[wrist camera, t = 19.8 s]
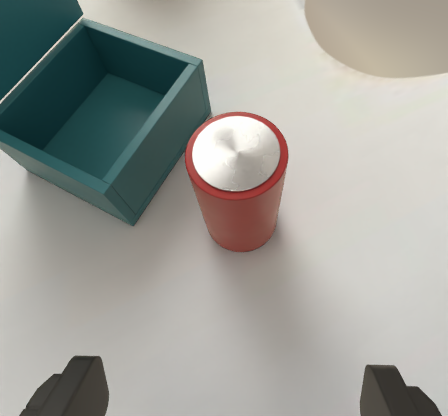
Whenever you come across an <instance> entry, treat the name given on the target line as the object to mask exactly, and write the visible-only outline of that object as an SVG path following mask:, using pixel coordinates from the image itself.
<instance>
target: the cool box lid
mask: <svg viewBox="0 0 448 416" xmlns="http://www.w3.org/2000/svg"><path fill="white" fill-rule="evenodd" d="M82 15H83V12H82V10H81V8H80V6H79V4H78V1H77V0H0V100H1V99H2V98H3V97H4V96H5V95H6V94H7V93H8V92H9V91H10V90H11V89H12V88H13V87H14V86H15V85H16V84H17V83H18V82H19V81H20V80H21V78H22V77H23V76H24V75H25V74H26V73H27V72H28V71H29V70H30V69H31V68H32V67H33V66H34V65H35V64H36V63H37V62H38V61H39V60H40V59H41V58H42V57H43V56H44V55H45V53H46V52H47V51H48V50H49V49H50V48H51V47H52V46H53V45H54V44H55V43H56V42H57V41H58V40H59V39H60V38H61V37H62V36H63V35H64V34H65V33H66V32H67V31H68V30H69V29H70V27H71V26H72V25H73V24H74V23H75V22H76V21H77V20H78V19H79V18H80V17H81V16H82Z"/></svg>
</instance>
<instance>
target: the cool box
mask: <svg viewBox="0 0 448 416" xmlns="http://www.w3.org/2000/svg"><path fill="white" fill-rule="evenodd" d="M210 112H211V107H210V102H209V96H208V90H207V84H206V78H205V72H204V66H203V60H202V59H199V58H196V57H193V56H190V55H188V54H185V53H182V52H179V51H176V50H173V49H171V48H168V47H165V46H162V45H159V44H156V43H153V42H151V41H148V40H145V39H142V38H139V37H136V36H134V35H131V34H128V33H125V32H122V31H119V30H117V29H114V28H111V27H108V26H105V25H102V24H100V23H97V22H94V21H91V20H88V19H85V18H82V19H81V20H80V21H79V22H78V24H76V25H75V26H74V27H73V28H72V29H71V30H70V31H69V33H68V34H67V35H66V36H65V37H64V38H63V39H62V40H61V41H60V42H59V43H58V44H57V45H56V46H55V47H54V48H53V49H52V50H51V51H50V52H49V53H48V54H47V56H46V57H45V58H44V59H43V60H42V61H41V62H40V63H39V64H38V65H37V66H36V67H35V68H34V69H33V70H32V71H31V72H30V73H29V74H28V75H27V76H26V77H25V79H24V80H23V81H22V82H21V83H20V84H19V85H18V86H17V87H16V88H15V89H14V90H13V91H12V92H11V93H10V94H9V95H8V96H7V97H6V98H5V99H4V100H3V102H2V103H1V104H0V149H2V150H3V151H4V152H5V153H6V154H8V155H9V156H10V157H11V158H13V159H14V160H15V161H16V162H18V163H19V164H20V165H21V166H23V167H24V168H25V169H26V170H28V171H30V172H32V173H34V174H36V175H38V176H39V177H41V178H43V179H45V180H47V181H49V182H51V183H53V184H54V185H56V186H58V187H60V188H62V189H64V190H66V191H68V192H70V193H71V194H73V195H75V196H77V197H79V198H81V199H83V200H85V201H86V202H88V203H90V204H92V205H94V206H96V207H98V208H100V209H102V210H103V211H105V212H107V213H109V214H111V215H113V216H115V217H117V218H118V219H120V220H122V221H124V222H126V223H128V224H130V225H132V226H134V225H135V223H136V222H137V220H138V219H139V217H140V216H141V214H142V213H143V211H144V210H145V208H146V207H147V205H148V204H149V202H150V201H151V199H152V198H153V196H154V195H155V193H156V192H157V190H158V189H159V187H160V186H161V185H162V183H163V182H164V180H165V179H166V177H167V176H168V174H169V173H170V171H171V170H172V168H173V167H174V165H175V164H176V162H177V161H178V159H179V158H180V156H181V155H182V153H183V152H184V150H185V149H186V147H187V144H188V142H189V140H190V138H191V136H192V135H193V133H194V132H195V131H196V129H197V128H199V127H200V126H201V125H202V124H203V122H204V121H205V119H206V118H207V116H208V115H209V113H210Z"/></svg>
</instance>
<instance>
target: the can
mask: <svg viewBox="0 0 448 416" xmlns="http://www.w3.org/2000/svg"><path fill="white" fill-rule="evenodd" d="M287 163H288V148H287V144H286V141H285V139H284V137H283V135H282V133H281V132H280V131H279V129H278V128H277V127H276V126H275V125H274V124H272V123H271V122H270V121H268V120H267V119H265V118H263V117H261V116H258V115H255V114H252V113H246V112H230V113H225V114H221V115H218V116H215V117H213V118H211V119H209V120H208V121H206V122H205V123H203V124H202V125H201V126H200V127H199V128H197V129H196V131H195V132H194V133H193V135H192V136H191V138H190V140H189V142H188V144H187V147H186V151H185V164H186V169H187V172H188V175H189V177H190V180H191V183H192V186H193V189H194V191H195V194H196V197H197V200H198V203H199V206H200V208H201V211H202V214H203V217H204V220H205V222H206V225H207V228H208V231H209V233H210V235H211V237H212V238H213V239H214V240H215V242H216V243H218V244H219V245H220V246H222V247H223V248H225V249H228V250H231V251H235V252H247V251H252V250H255V249H257V248H259V247H261V246H262V245H264V244H265V243H266V242H267V241H268V240H269V239H270V237H271V236H272V234H273V232H274V230H275V227H276V222H277V216H278V211H279V206H280V200H281V195H282V190H283V184H284V179H285V174H286V168H287Z"/></svg>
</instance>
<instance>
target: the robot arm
mask: <svg viewBox="0 0 448 416" xmlns="http://www.w3.org/2000/svg"><path fill="white" fill-rule="evenodd" d="M108 401H109V390H108V385H107V381H106V376H105V372H104V367H103V362H102V359H101V357H99V356H74V357H73V358H72V359H71V360H70V361H69V363H68V365H67V366H66V368H65V369H64V371H63V372H62V374H53V375H52V376H51V377H50V378H49V379H48V380H47V381H46V382H44V383H43V384H42V385H41V386H40V387H39V388H38V389H37V390H36V392H35V393H34V395H33V396H32V398H31V399H30V401H29V402H28V404H27V405H26V409H23V411H22V412H21V414H20V415H19V416H105V414H106V411H107V407H108ZM360 414H361V416H442V415H441V413H440V412H439V410H438V408H437V406H436V405H435V403H434V402H433V401H432V400H431V399H430V398H429V397H428V396H427V395H426V394H425V393H424V392H423V391H422V390H421V389H420V388H419V387H414V386H406V384H405V382H404V380H403V378H402V376H401V374H400V373H399V371H398V369H397V368H396V367H395V366H394V365H366V367H365V372H364V378H363V385H362V391H361V397H360Z"/></svg>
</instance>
